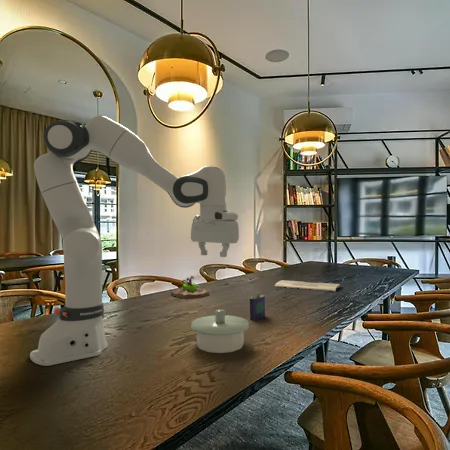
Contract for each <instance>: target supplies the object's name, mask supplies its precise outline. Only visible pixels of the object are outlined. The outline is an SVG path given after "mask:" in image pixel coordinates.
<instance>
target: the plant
mask: <svg viewBox="0 0 450 450" xmlns="http://www.w3.org/2000/svg"><path fill="white" fill-rule="evenodd" d="M194 279H195V276H194V275H191V276H190V277H186V279H183V280H181V281H180V284H183V285H182V286H181V287H179V288H177V289H173V290H172V291H170V295H171V294H173V295H172V297H173V296H176V297H175V298H178V297H180V298H179V299H183V298H186V299H199V298H198V297H200V298H204V297H208V296H207V295H209V296H210V292H209V290H207V289H205V288H201V287H199V286H200V284H196V283H194V282H193V283H192V280H194ZM184 282H186V283H184Z"/></svg>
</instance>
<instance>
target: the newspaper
mask: <svg viewBox="0 0 450 450" xmlns="http://www.w3.org/2000/svg"><path fill="white" fill-rule="evenodd" d="M274 287H275V288H284V287H286V288H285V289H297V288H299V289H301V290H309V289H311V291H325V292H335V293H336V292H337V291H336V290H337V289H339V288H340V287H341V283H340V284H339V283H330V282H329V283H328V282H327V283H326V282H312V281H299V280H297V281H296V280H287V279H286V280H284V279H282V280H279V281H277V282H276V283H275V284H274Z"/></svg>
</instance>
